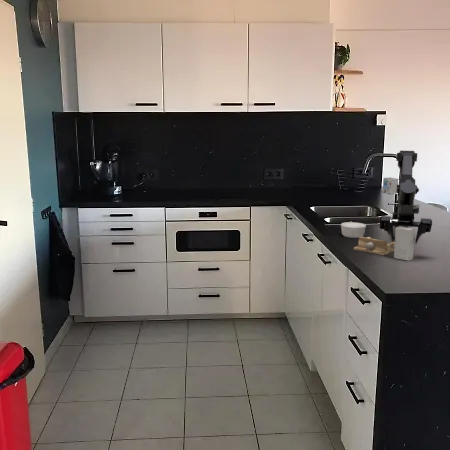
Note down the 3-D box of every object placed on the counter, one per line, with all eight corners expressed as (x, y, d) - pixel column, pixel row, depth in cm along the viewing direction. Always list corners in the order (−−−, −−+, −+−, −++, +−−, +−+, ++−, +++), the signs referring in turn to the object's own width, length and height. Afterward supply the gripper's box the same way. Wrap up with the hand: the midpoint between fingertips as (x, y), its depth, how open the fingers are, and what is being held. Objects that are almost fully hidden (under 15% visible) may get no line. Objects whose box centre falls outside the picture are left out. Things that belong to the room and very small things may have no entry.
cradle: (369, 243, 215) (370, 232, 214) (398, 248, 207) (399, 237, 206) (353, 249, 205) (354, 237, 204) (383, 255, 197) (384, 243, 196)
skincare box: (413, 259, 192) (416, 227, 189) (408, 261, 188) (411, 229, 186) (397, 256, 196) (400, 225, 193) (392, 258, 193) (395, 227, 190)
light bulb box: (382, 192, 369) (383, 177, 366) (389, 191, 371) (391, 177, 368) (390, 194, 359) (392, 179, 356) (399, 194, 361) (400, 178, 358)
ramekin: (347, 239, 223) (348, 227, 222) (335, 233, 234) (336, 222, 233) (370, 237, 226) (371, 226, 225) (357, 232, 237) (358, 221, 235)
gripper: (381, 195, 194) (379, 229, 186) (434, 197, 188) (433, 232, 180) (380, 211, 203) (378, 244, 195) (430, 214, 197) (430, 248, 189)
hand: (404, 242), depth 189 cm, fingers open, 8 cm apart
